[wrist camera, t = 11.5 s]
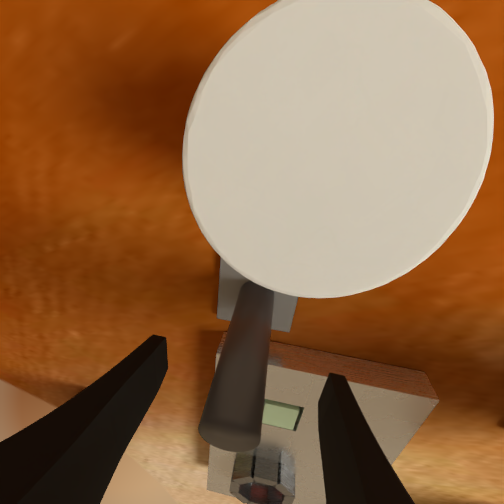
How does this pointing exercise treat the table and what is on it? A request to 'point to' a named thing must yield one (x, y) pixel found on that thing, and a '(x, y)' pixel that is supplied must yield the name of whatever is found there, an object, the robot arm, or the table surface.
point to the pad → (280, 414)
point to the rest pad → (230, 290)
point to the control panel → (306, 426)
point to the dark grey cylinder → (241, 375)
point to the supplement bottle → (337, 143)
